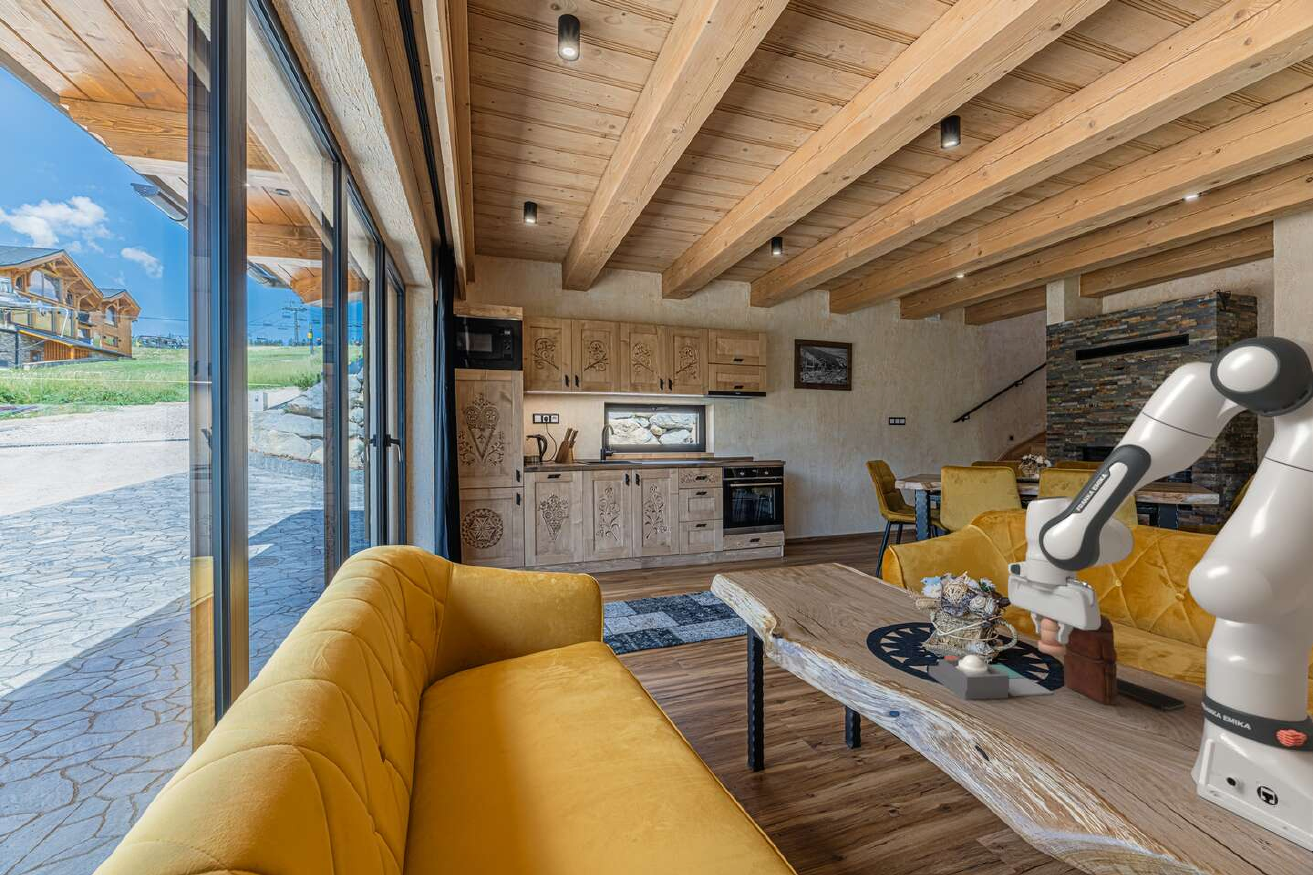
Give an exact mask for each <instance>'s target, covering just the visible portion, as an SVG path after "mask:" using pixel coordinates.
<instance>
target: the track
mask: <svg viewBox="0 0 1313 875" xmlns="http://www.w3.org/2000/svg"><path fill="white" fill-rule="evenodd" d="M990 665H991V666H993V667H995V668H996V669H998V670H1000V671H1002V672H1004V673H1005V674H1007V675H1009V690H1008V696H1011V697H1027V696H1029V697H1030V696H1050V695H1051V696H1052V695H1054V694H1055V693H1054V692H1053V691H1052V690H1049V689H1047V688H1046V687H1044V686H1042V685H1040V684H1038V683H1036V682H1035V681H1032V680H1030V679H1029V678H1027V677H1025V676H1024V675H1022V674H1019V673H1018V672H1017V671H1014V670H1012V669H1010V667H1007V666H1005V665H1003V664H990Z"/></svg>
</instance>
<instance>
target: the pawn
mask: <svg viewBox="0 0 1313 875" xmlns="http://www.w3.org/2000/svg"><path fill="white" fill-rule="evenodd" d="M1060 628H1061V627H1059V624H1058V621H1056V620H1054V619H1051V618H1048V617H1044V618H1043V620H1042V621H1041V635H1040V637H1041V639H1040V640H1038V641H1037V649H1038V651H1039V652H1041V653H1043V654H1046V655H1052V656H1058V657H1059V656H1064V655H1066V645H1064V644H1061V643H1059V642H1057V641H1055V633H1059V630H1060Z"/></svg>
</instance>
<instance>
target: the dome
mask: <svg viewBox="0 0 1313 875" xmlns="http://www.w3.org/2000/svg"><path fill="white" fill-rule="evenodd" d="M961 659H962V660H959V666H956V668H958V669H959V670H961V671H963V672H964V673H966V674H967V675H986V674H990V672H988V671H987V665H986V664H984V663H983V662H982V661H983V659H981V658H980V657H979V656H977V655H974V654H968V655H966V656H964V657H963V658H961Z"/></svg>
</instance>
